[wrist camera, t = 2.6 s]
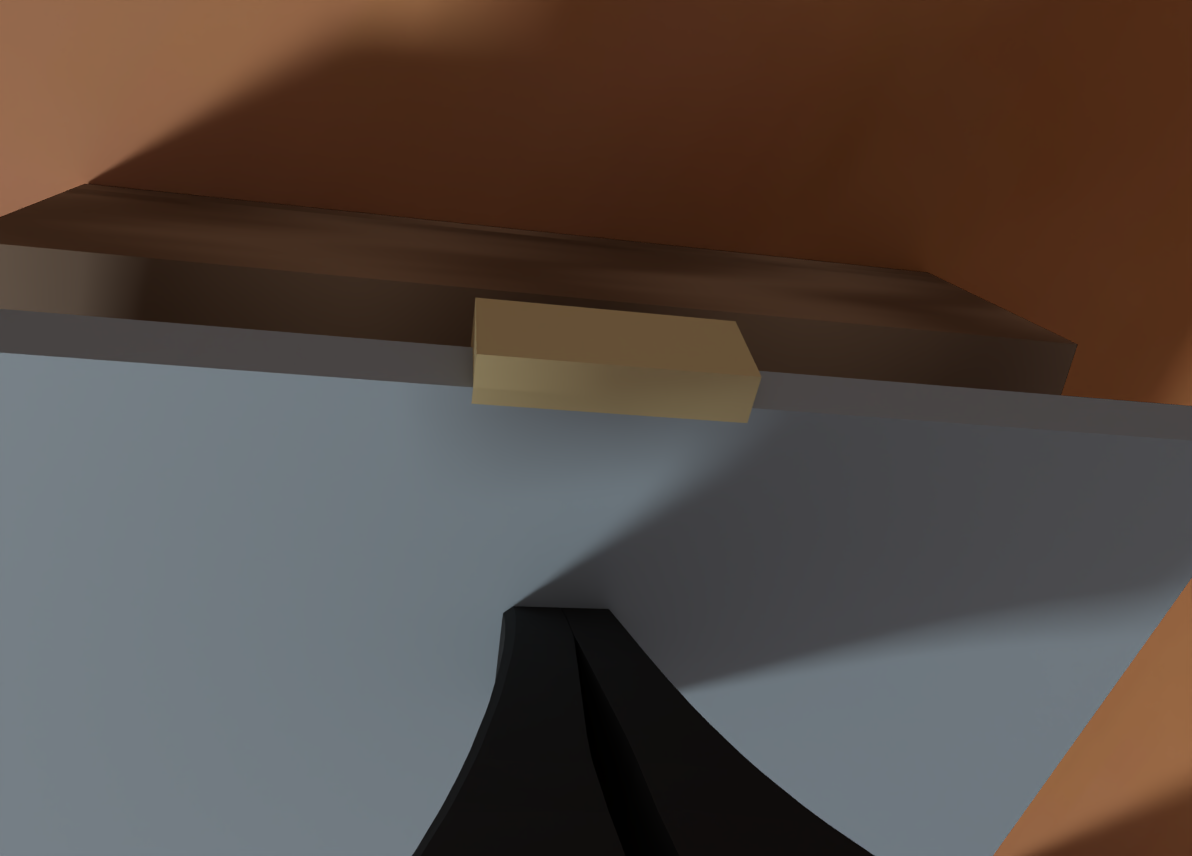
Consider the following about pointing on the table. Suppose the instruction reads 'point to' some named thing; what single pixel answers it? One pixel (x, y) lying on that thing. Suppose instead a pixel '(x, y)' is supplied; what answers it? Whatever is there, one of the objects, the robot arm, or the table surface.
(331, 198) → the table surface
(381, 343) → the lid
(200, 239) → the box
